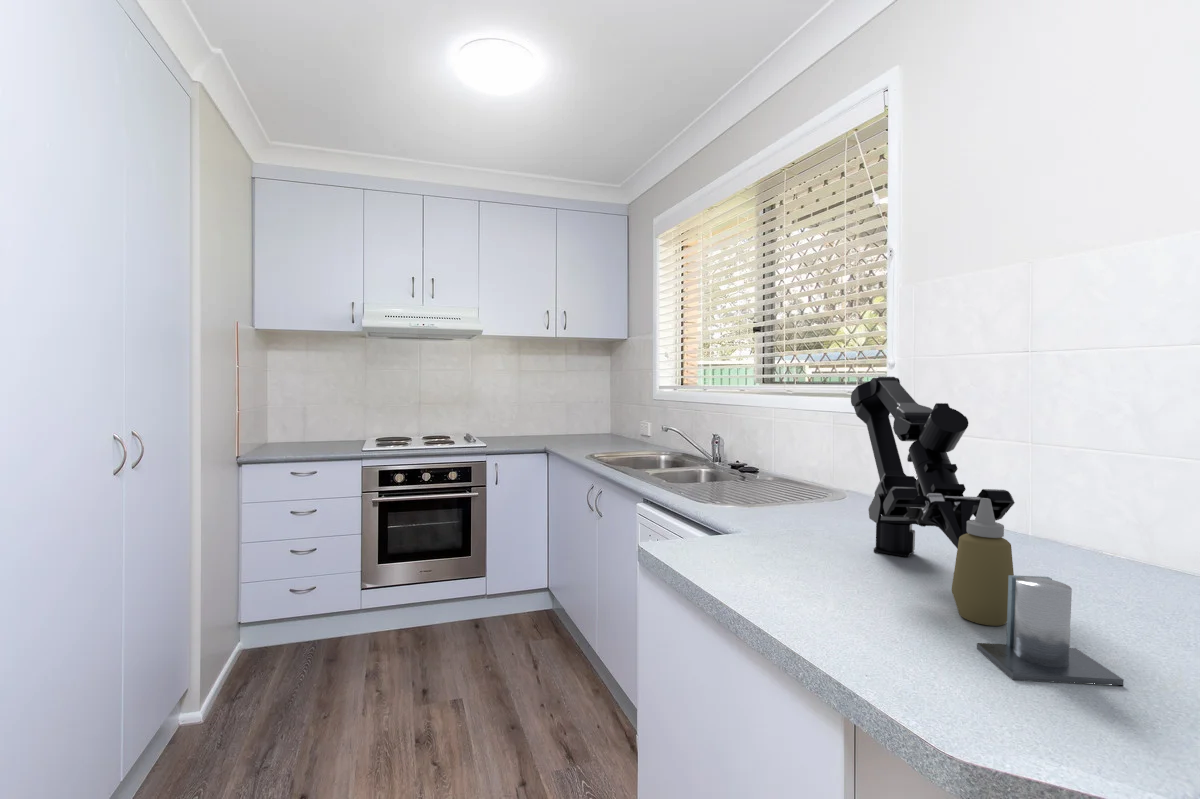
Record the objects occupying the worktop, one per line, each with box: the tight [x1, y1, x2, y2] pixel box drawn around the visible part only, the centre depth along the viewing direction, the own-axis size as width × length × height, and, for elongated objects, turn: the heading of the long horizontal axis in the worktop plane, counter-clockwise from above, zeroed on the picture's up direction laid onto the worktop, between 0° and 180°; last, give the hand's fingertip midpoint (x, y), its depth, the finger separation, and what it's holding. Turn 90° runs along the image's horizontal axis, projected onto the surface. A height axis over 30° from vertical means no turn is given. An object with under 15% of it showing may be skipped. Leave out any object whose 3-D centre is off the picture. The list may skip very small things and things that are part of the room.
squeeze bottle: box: [951, 498, 1015, 627], centre depth 86 cm, size 8×8×18 cm
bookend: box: [976, 574, 1125, 686], centre depth 72 cm, size 8×12×10 cm, turn 84°
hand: (962, 549), depth 93 cm, fingers closed
